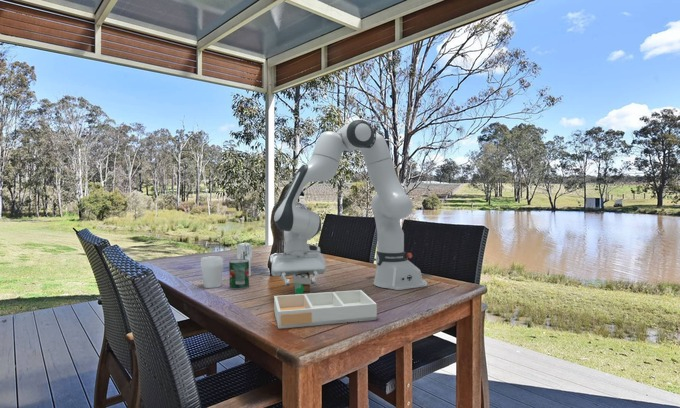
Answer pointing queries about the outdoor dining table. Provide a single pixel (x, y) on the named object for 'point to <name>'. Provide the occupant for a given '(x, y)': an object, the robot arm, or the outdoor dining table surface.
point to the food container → (302, 282)
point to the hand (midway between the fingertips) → (300, 284)
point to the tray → (323, 308)
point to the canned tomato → (239, 273)
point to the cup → (212, 271)
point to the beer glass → (245, 253)
